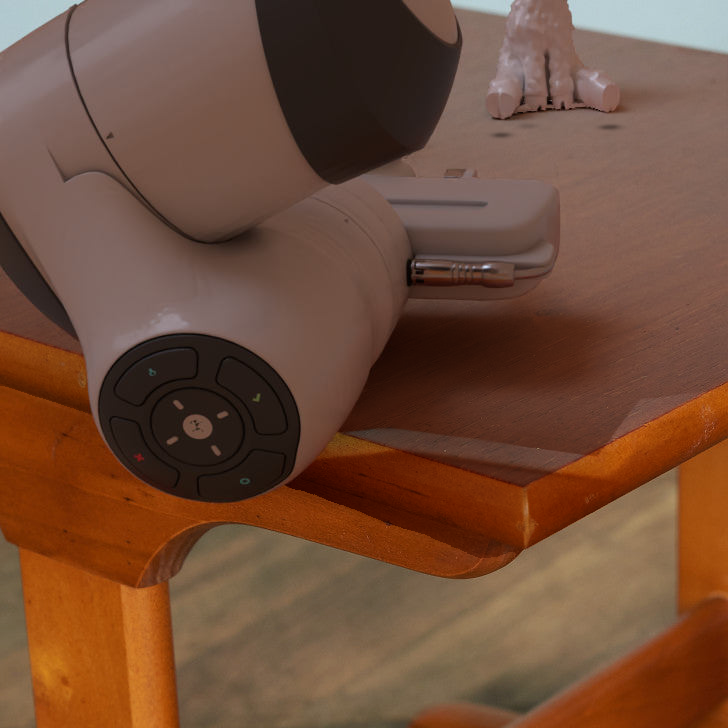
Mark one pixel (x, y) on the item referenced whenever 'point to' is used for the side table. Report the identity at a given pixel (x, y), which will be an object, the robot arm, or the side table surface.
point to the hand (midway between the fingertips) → (369, 182)
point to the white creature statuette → (545, 64)
